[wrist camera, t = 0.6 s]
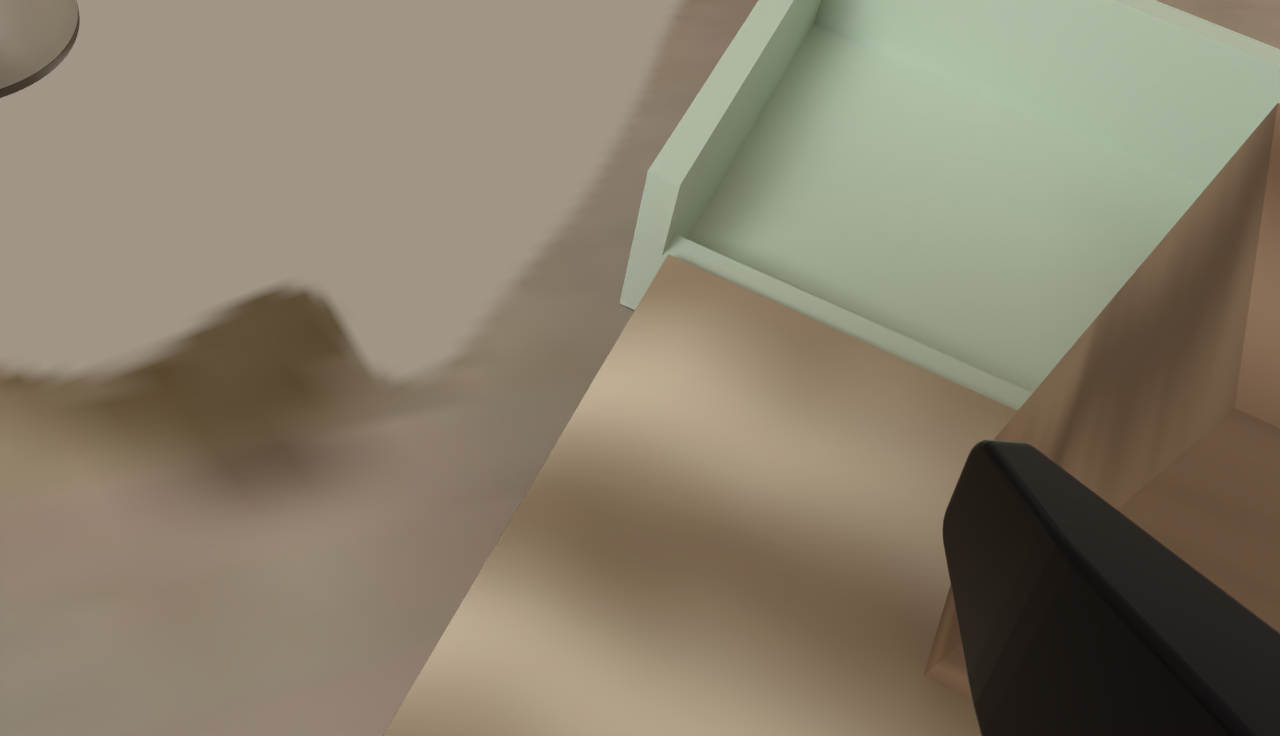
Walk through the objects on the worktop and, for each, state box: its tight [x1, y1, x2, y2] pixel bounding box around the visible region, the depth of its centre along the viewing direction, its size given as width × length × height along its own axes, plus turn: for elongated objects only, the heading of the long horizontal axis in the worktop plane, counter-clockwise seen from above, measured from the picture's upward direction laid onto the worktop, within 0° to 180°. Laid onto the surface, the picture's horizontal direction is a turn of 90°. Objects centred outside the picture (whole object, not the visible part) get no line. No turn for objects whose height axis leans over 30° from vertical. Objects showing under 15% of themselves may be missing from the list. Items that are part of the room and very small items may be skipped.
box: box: [620, 0, 1280, 411], centre depth 29 cm, size 14×24×5 cm, turn 65°
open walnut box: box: [923, 103, 1280, 699], centre depth 18 cm, size 6×5×10 cm
